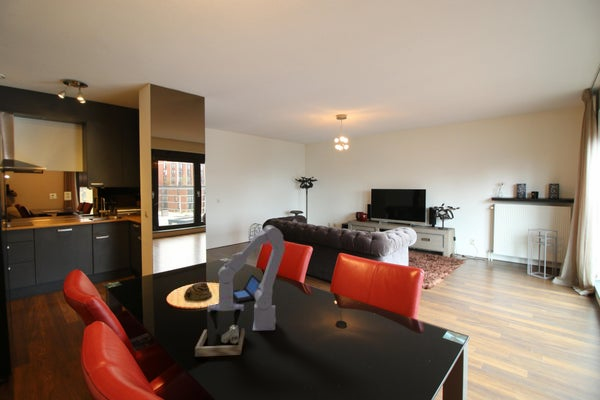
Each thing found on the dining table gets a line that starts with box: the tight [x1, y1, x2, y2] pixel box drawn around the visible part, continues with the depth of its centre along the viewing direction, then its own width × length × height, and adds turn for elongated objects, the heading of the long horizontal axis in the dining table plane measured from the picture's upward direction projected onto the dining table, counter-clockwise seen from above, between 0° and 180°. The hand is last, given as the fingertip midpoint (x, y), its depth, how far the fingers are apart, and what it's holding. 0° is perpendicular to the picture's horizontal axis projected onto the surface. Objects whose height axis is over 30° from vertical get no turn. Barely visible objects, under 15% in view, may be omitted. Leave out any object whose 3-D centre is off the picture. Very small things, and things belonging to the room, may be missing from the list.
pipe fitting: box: [220, 324, 240, 345], centre depth 110 cm, size 8×4×7 cm
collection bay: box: [194, 327, 246, 358], centre depth 106 cm, size 16×13×3 cm
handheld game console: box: [233, 274, 262, 304], centre depth 154 cm, size 16×13×9 cm
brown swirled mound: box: [183, 281, 213, 302], centre depth 153 cm, size 13×15×8 cm
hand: (226, 327), depth 115 cm, fingers open, 7 cm apart
